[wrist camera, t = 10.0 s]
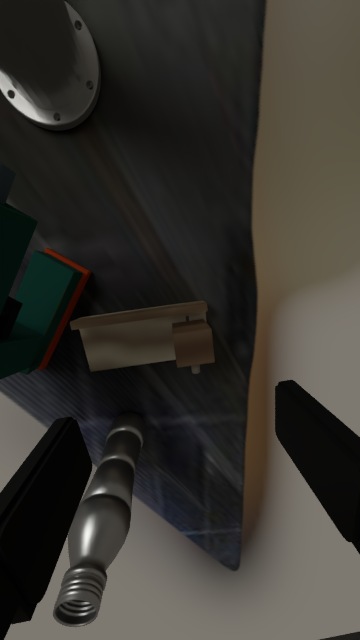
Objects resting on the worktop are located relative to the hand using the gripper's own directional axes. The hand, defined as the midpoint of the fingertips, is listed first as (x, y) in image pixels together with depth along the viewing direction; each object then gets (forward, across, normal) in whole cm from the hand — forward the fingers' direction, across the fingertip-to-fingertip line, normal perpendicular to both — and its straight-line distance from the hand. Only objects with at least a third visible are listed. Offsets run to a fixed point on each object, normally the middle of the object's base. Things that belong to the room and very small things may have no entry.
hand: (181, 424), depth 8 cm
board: (+22, +5, +3) cm, 23 cm away
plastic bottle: (+22, +11, +19) cm, 31 cm away
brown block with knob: (+20, -2, +4) cm, 21 cm away
